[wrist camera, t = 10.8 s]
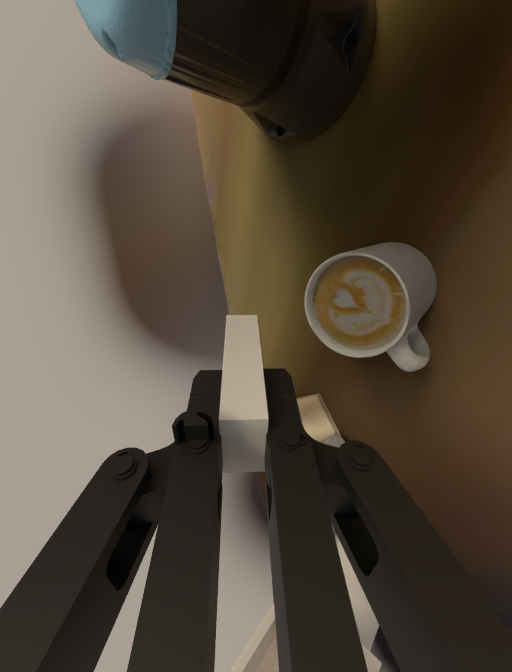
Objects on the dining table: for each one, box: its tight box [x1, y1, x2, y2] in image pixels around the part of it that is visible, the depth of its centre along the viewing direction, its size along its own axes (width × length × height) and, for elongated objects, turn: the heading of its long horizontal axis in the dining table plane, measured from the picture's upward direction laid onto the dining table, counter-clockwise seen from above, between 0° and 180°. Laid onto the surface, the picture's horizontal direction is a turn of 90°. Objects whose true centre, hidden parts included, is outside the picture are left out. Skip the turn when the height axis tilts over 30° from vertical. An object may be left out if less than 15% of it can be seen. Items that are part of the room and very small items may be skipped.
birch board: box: [296, 393, 341, 442], centre depth 50 cm, size 16×16×1 cm
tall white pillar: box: [230, 526, 381, 672], centre depth 33 cm, size 11×11×35 cm
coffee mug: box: [305, 242, 437, 372], centre depth 29 cm, size 13×10×10 cm
